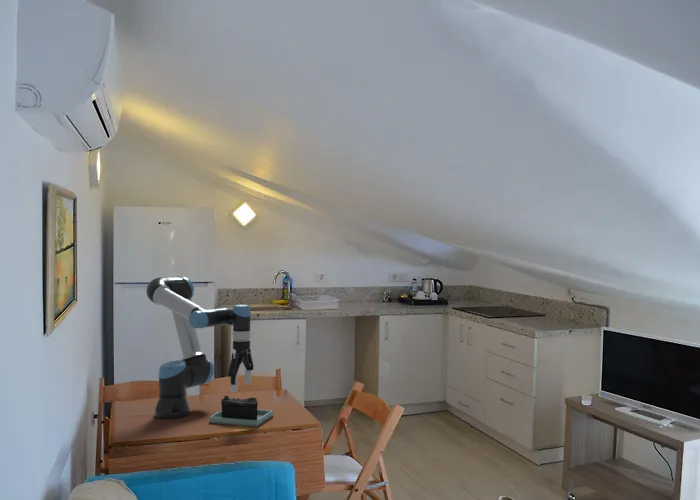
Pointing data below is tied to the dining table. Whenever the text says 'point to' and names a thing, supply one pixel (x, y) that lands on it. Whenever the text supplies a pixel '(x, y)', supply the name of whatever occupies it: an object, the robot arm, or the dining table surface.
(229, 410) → the camera
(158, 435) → the dining table surface
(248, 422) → the storage tray
